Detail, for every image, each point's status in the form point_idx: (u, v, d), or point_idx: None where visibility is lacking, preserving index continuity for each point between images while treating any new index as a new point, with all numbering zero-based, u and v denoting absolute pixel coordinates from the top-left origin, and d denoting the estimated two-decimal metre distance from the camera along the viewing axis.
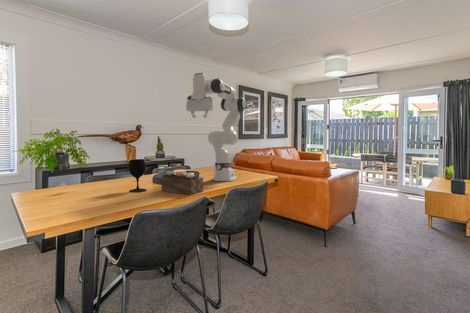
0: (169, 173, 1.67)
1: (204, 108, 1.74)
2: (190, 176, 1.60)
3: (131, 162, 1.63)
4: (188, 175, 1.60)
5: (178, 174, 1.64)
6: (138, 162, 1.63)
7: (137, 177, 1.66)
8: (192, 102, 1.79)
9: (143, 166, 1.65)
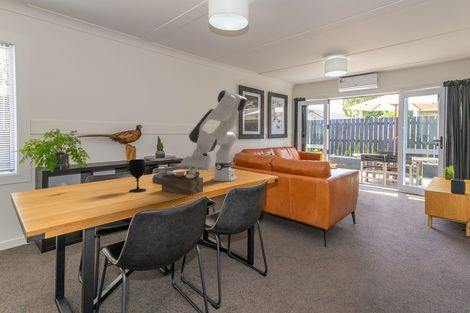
0: (169, 173, 1.67)
1: None
2: (190, 178, 1.60)
3: (131, 162, 1.63)
4: (188, 177, 1.60)
5: (178, 174, 1.64)
6: (138, 162, 1.63)
7: (137, 177, 1.66)
8: None
9: (143, 166, 1.65)
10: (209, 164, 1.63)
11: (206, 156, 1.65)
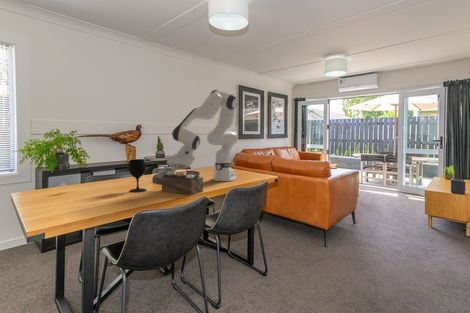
0: (169, 173, 1.67)
1: None
2: (190, 178, 1.60)
3: (131, 162, 1.63)
4: (188, 177, 1.60)
5: (178, 174, 1.64)
6: (138, 162, 1.63)
7: (137, 177, 1.66)
8: None
9: (143, 166, 1.65)
10: (189, 162, 1.68)
11: (187, 154, 1.70)
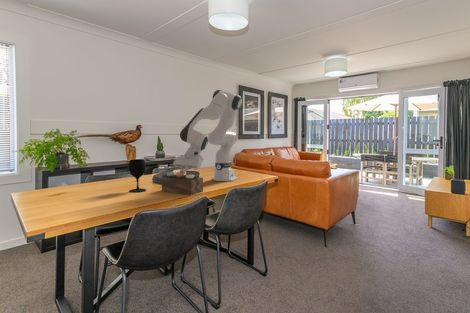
0: (169, 175, 1.67)
1: None
2: (190, 178, 1.60)
3: (131, 162, 1.63)
4: (188, 177, 1.60)
5: (178, 175, 1.64)
6: (138, 162, 1.63)
7: (137, 177, 1.66)
8: None
9: (143, 166, 1.65)
10: (199, 163, 1.66)
11: (197, 155, 1.68)
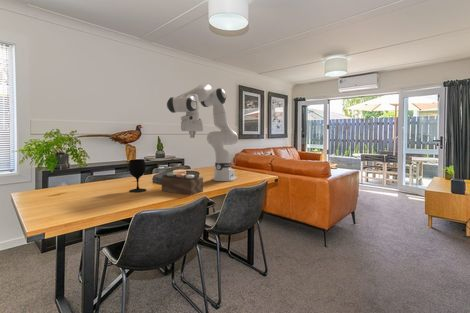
0: (169, 175, 1.67)
1: (199, 129, 1.85)
2: (190, 178, 1.60)
3: (131, 162, 1.63)
4: (188, 177, 1.60)
5: (178, 176, 1.64)
6: (138, 162, 1.63)
7: (137, 177, 1.66)
8: (190, 122, 1.76)
9: (143, 166, 1.65)
10: (182, 126, 1.72)
11: None
